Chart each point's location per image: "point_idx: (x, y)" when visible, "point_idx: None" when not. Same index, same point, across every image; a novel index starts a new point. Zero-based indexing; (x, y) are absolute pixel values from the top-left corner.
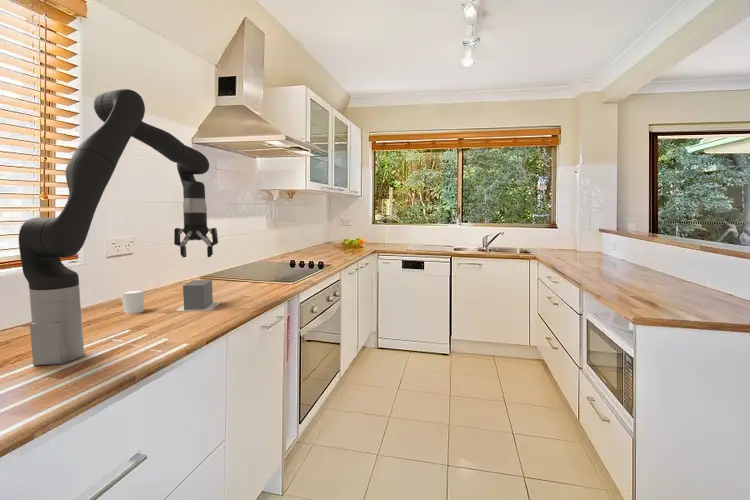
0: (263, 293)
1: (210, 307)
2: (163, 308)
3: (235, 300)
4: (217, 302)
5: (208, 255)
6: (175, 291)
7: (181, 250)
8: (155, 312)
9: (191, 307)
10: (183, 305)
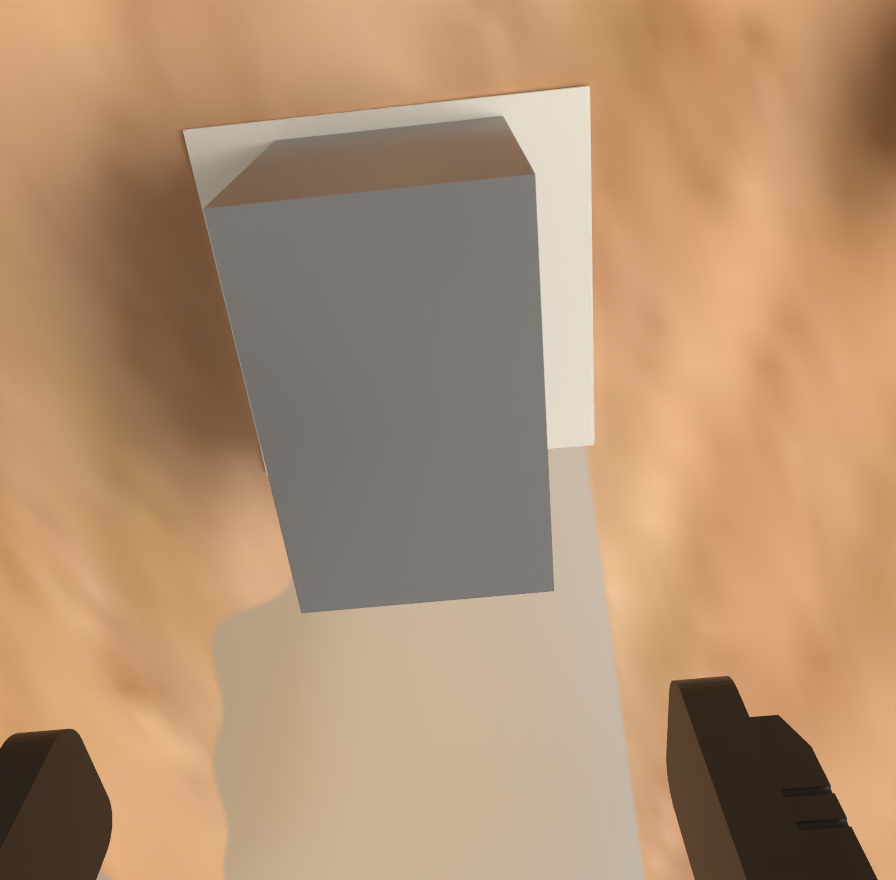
0: None
1: None
2: (773, 229)
3: (161, 550)
4: None
5: (23, 757)
6: None
7: (830, 860)
8: (810, 30)
9: (418, 128)
10: (591, 332)
